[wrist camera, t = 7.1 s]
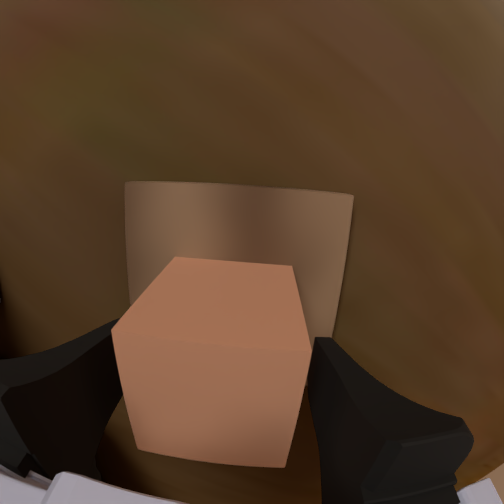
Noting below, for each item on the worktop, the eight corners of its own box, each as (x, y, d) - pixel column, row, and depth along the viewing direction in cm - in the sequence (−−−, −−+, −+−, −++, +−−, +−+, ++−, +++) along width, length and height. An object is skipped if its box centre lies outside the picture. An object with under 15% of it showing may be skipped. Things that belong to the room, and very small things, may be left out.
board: (143, 360, 17) (138, 368, 16) (131, 181, 14) (124, 182, 13) (318, 376, 16) (320, 385, 16) (349, 194, 14) (353, 195, 13)
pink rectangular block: (178, 352, 15) (138, 449, 9) (174, 256, 14) (110, 329, 8) (279, 362, 15) (284, 467, 9) (292, 265, 14) (312, 351, 7)
